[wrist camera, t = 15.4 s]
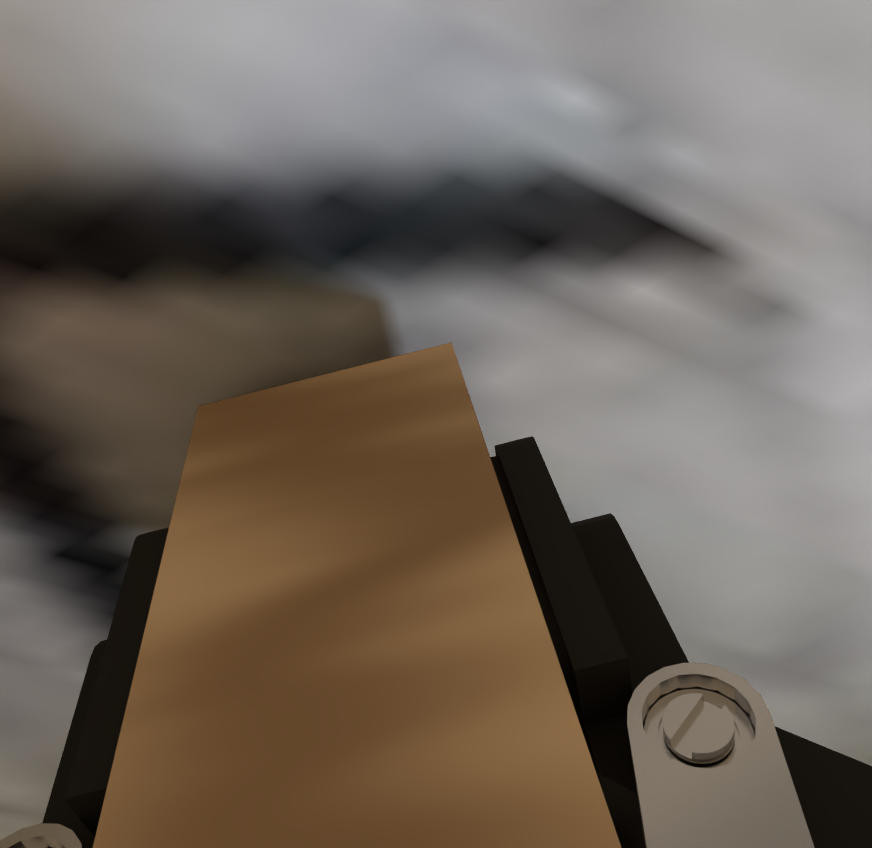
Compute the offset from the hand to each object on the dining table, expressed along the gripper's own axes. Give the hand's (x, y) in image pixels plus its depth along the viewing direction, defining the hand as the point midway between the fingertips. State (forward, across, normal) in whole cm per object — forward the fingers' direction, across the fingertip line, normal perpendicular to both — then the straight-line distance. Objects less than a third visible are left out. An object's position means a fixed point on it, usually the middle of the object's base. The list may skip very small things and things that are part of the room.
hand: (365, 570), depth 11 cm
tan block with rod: (+2, 0, +7) cm, 7 cm away
